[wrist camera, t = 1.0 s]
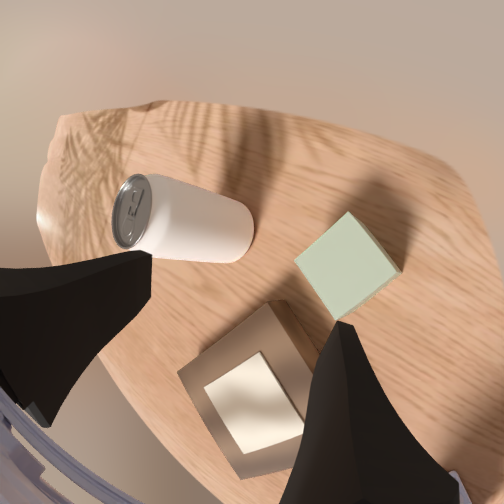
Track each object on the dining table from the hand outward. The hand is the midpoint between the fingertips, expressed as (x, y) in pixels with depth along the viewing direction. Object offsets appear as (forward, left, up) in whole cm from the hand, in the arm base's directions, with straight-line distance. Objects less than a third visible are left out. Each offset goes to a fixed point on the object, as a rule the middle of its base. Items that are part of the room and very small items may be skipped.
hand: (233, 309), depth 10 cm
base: (-4, +12, -15) cm, 19 cm away
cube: (+1, -2, -15) cm, 15 cm away
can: (+12, +6, -15) cm, 20 cm away
